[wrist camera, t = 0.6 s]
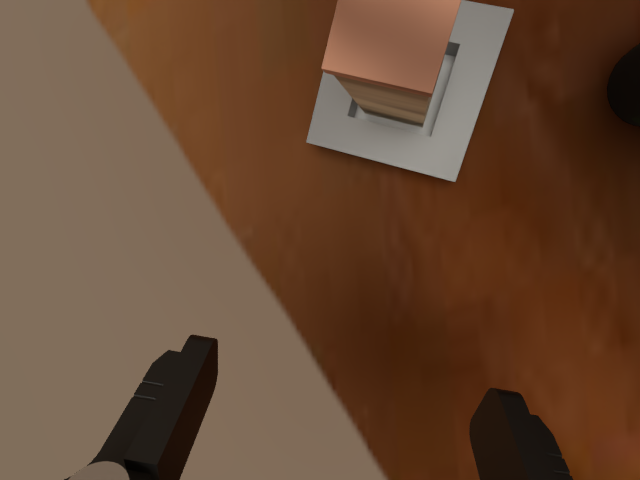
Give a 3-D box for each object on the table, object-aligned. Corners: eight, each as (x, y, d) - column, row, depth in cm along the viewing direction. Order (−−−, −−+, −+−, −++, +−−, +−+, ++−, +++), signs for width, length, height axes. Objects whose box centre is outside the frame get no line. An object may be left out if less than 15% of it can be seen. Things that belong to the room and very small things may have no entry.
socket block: (353, 0, 29) (345, -21, 26) (501, 29, 27) (514, 9, 24) (317, 145, 31) (306, 142, 28) (450, 180, 29) (455, 182, 26)
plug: (380, 49, 28) (351, -57, 15) (444, 63, 28) (472, -37, 14) (362, 115, 30) (321, 68, 16) (423, 130, 29) (432, 93, 15)
